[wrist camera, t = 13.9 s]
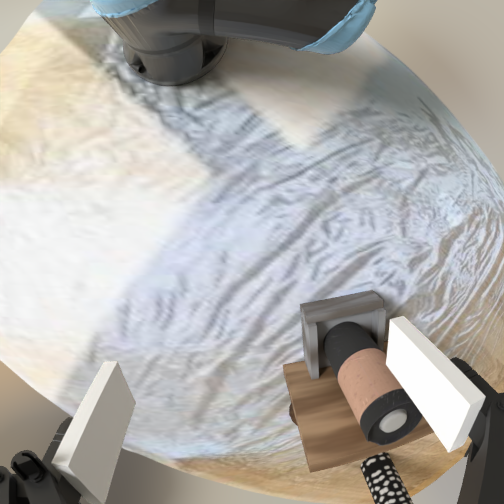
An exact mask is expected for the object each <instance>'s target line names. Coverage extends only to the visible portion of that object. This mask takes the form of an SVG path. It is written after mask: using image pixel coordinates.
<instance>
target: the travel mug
mask: <svg viewBox="0 0 504 504" xmlns="http://www.w3.org/2000/svg"><path fill="white" fill-rule="evenodd" d="M323 347H324V351H325V353H326V356H327V358H328V360H329V363H330V365H331V367H332V369H333V372H334V374H335V376H336V379H337V381H338V383H339V385H340V387H341V389H342V391H343V393H344V395H345V397H346V399H347V401H348V403H349V405H350V407H351V409H352V411H353V413H354V415H355V417H356V419H357V421H358V423H359V425H360V427H361V429H362V431H363V433H364V435H365V438H366V440H367V442H368V441H370V442H373V443H376V444H378V445H379V446H384V445H389V444H392V443H394V442H396V441H398V440H400V439H402V438H404V437H405V436H406V435H408V434H409V433H410V432H411V431H412V430H413V429H414V428H415V427H416V426H417V425H418V424H419V422H420V421H421V419H422V416H423V415H422V413H421V412H420V411H419V409H418V408H417V406H416V405H415V404H414V402H413V401H412V399H411V398H410V397H409V395H408V394H407V393H406V391H405V390H404V388H403V387H402V386H401V384H400V383H399V382H398V380H397V379H396V377H395V376H394V375H393V373H392V372H391V371H390V369H389V368H388V367H387V365H386V359H387V356H386V355H385V353H384V352H383V351H382V350H381V349H380V348H379V346H378V345H377V344H376V343H375V342H374V341H373V339H372V338H371V337H370V336H369V335H368V334H367V333H366V331H365V330H364V329H363V328H362V327H361V326H360V325H359V324H357V323H355V322H351V321H346V322H342V323H339V324H337V325H335V326H334V327H332V328H331V329H330V330H329V331H328V333H327V334H326V336H325V338H324V342H323Z"/></svg>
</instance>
